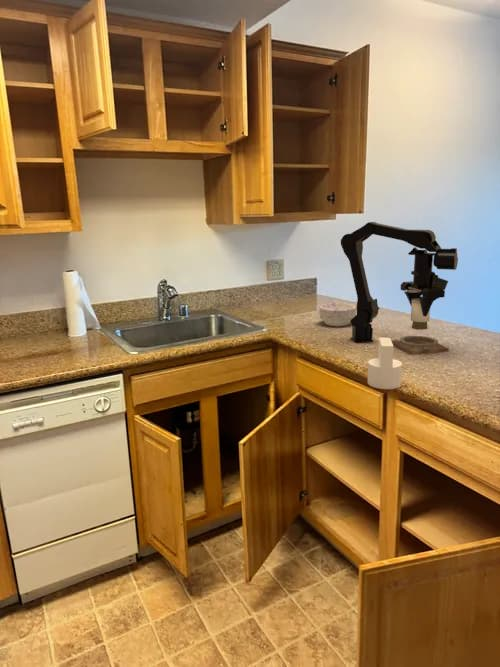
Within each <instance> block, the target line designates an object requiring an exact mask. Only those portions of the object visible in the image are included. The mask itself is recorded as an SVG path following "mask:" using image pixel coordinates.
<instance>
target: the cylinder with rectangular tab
mask: <svg viewBox="0 0 500 667" xmlns="http://www.w3.org/2000/svg"><path fill="white" fill-rule="evenodd" d="M392 341H393V340H391V338H390V337H378V348H377V349H378V352H377V353H378V355H377V357H376V358H372V359H370V360H368V362H367V384H368V385H369V386H370V387H372V388H376V389H380V390H381V389H382V390H394V389H398V388H400V387H401V386H402V374H403V362H401V361H400V360H398V359H394V345H393V344H392Z"/></svg>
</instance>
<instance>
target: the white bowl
mask: <svg viewBox="0 0 500 667" xmlns="http://www.w3.org/2000/svg"><path fill="white" fill-rule="evenodd" d="M356 307H357V305H356V306H355V305H354V304H351V303H345V302H331V303H323V304H320V306H319V308H318V309H319V318H320V319H321V320H323V321H324V324H325V325H327V326H330V327H345V326H348V325H350V324H351V321H350V320H351V319H353V318H354V317H355V316H356V315H357V308H356Z"/></svg>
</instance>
